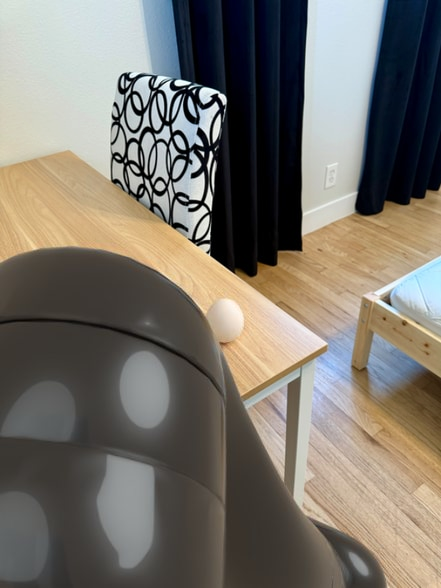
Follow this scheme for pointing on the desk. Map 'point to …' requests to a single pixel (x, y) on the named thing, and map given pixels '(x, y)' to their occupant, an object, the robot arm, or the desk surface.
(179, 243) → the desk surface
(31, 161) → the desk surface
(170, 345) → the robot arm
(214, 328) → the egg
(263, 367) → the desk surface
